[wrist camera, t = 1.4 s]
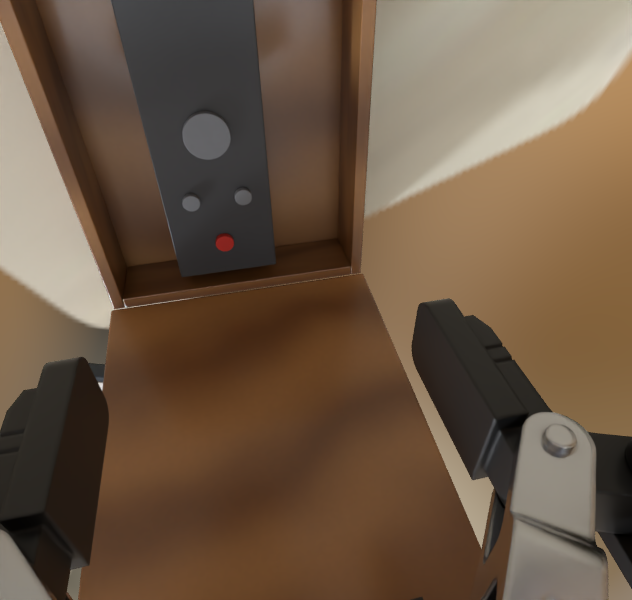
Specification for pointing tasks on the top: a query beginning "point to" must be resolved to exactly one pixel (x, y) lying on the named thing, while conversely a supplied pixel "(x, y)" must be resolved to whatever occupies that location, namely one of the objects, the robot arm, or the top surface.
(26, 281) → the top surface
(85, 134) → the chest
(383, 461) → the lid
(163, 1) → the remote
